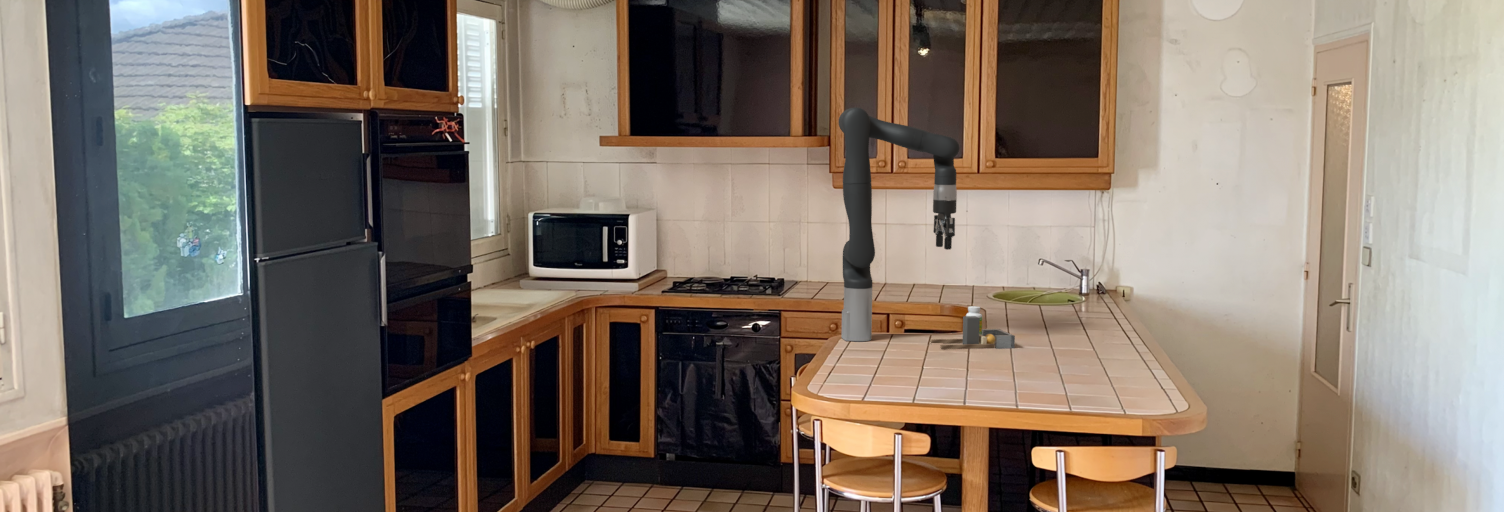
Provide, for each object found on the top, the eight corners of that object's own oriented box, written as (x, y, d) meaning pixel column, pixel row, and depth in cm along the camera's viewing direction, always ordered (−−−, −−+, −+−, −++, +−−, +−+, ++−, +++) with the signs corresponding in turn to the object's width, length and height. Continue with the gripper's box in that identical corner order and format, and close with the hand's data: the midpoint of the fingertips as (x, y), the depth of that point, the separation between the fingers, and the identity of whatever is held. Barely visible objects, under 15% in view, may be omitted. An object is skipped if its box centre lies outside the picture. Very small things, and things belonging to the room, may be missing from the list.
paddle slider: (968, 347, 366) (969, 319, 365) (960, 343, 373) (961, 315, 372) (986, 346, 367) (987, 318, 366) (978, 342, 374) (979, 315, 373)
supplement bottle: (981, 337, 386) (982, 308, 385) (965, 336, 387) (965, 307, 386) (981, 334, 391) (982, 306, 390) (965, 334, 392) (966, 305, 391)
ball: (999, 338, 369) (993, 347, 369) (994, 336, 373) (989, 345, 373) (989, 332, 369) (984, 342, 369) (985, 331, 372) (980, 340, 372)
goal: (996, 348, 364) (996, 336, 364) (981, 341, 377) (981, 329, 377) (1014, 348, 365) (1014, 335, 365) (999, 341, 378) (999, 329, 378)
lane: (941, 349, 362) (941, 345, 362) (930, 343, 373) (930, 339, 373) (994, 348, 365) (994, 344, 365) (981, 342, 376) (981, 338, 376)
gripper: (927, 197, 383) (925, 246, 385) (940, 199, 369) (939, 250, 371) (948, 197, 385) (947, 246, 386) (963, 199, 371) (961, 250, 372)
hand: (943, 248), depth 379 cm, fingers open, 8 cm apart
